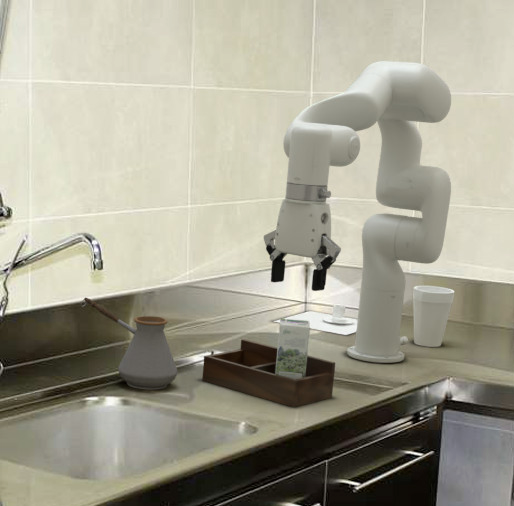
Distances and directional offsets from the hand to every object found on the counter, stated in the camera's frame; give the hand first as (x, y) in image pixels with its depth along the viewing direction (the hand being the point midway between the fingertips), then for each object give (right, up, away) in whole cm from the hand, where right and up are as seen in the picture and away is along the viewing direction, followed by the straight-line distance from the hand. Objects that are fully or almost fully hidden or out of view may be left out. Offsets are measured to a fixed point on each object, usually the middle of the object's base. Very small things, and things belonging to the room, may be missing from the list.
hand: (297, 285), depth 229 cm
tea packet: (-1, -21, +6) cm, 22 cm away
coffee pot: (-33, -18, +9) cm, 38 cm away
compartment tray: (-5, -19, +9) cm, 22 cm away
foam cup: (+37, -8, +60) cm, 71 cm away
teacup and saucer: (+15, -2, +76) cm, 78 cm away
